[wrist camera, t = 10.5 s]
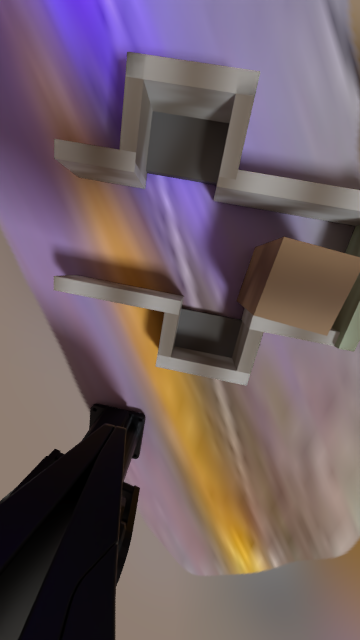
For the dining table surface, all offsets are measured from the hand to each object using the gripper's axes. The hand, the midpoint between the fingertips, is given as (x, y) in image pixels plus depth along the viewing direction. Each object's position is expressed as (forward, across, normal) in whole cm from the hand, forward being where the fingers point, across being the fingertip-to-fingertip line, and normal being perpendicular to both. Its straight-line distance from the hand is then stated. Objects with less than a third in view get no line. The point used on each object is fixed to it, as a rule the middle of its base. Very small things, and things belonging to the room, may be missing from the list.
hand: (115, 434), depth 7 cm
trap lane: (+13, -3, -8) cm, 16 cm away
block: (+13, -9, -6) cm, 17 cm away
